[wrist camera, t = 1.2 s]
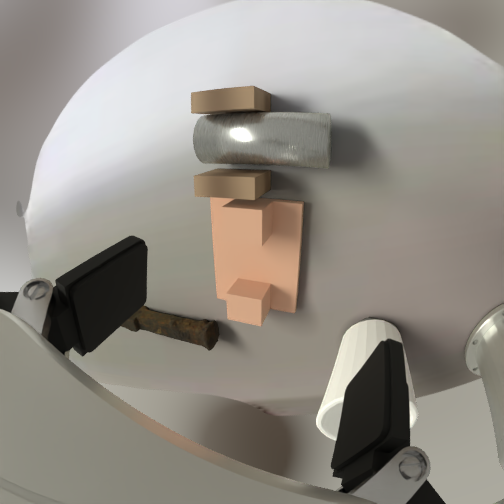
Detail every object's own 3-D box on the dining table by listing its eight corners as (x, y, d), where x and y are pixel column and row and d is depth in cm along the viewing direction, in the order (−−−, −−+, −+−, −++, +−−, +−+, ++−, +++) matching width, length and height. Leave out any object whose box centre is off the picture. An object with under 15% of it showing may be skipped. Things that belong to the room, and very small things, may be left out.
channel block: (270, 93, 24) (253, 85, 20) (270, 189, 28) (254, 200, 24) (215, 97, 26) (191, 92, 22) (218, 186, 30) (194, 196, 26)
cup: (340, 370, 35) (325, 448, 24) (325, 314, 32) (304, 398, 21) (410, 359, 30) (415, 440, 19) (406, 299, 28) (421, 384, 17)
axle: (332, 120, 24) (328, 107, 19) (330, 169, 25) (326, 167, 21) (218, 120, 28) (194, 111, 23) (216, 164, 29) (192, 162, 24)
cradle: (303, 201, 28) (295, 213, 24) (296, 308, 33) (287, 331, 29) (214, 194, 31) (193, 205, 27) (220, 294, 36) (204, 313, 32)
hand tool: (219, 316, 38) (204, 336, 34) (222, 337, 40) (208, 358, 36) (122, 292, 44) (104, 305, 40) (128, 311, 46) (111, 325, 42)
